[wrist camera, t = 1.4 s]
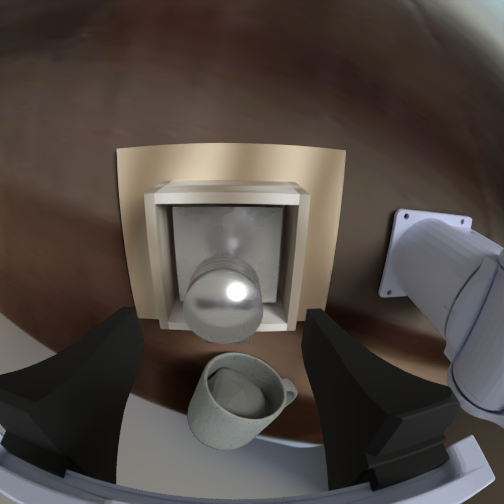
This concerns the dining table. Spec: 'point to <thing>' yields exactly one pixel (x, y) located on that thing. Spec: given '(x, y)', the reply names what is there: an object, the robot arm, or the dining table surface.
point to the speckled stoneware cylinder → (236, 400)
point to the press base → (231, 193)
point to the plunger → (226, 267)
